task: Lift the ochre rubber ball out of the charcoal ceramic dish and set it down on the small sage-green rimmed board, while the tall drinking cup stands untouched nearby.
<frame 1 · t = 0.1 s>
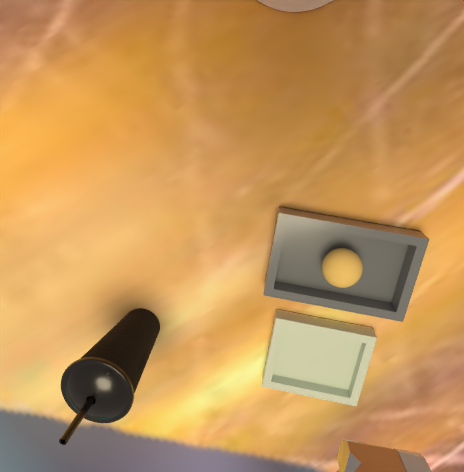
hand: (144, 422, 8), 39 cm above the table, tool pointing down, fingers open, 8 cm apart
drinking cup: (142, 323, 53), on the table
tray: (315, 352, 51), on the table
ball: (339, 260, 46), point 1 cm above the table, touching dish
dish: (338, 259, 47), on the table
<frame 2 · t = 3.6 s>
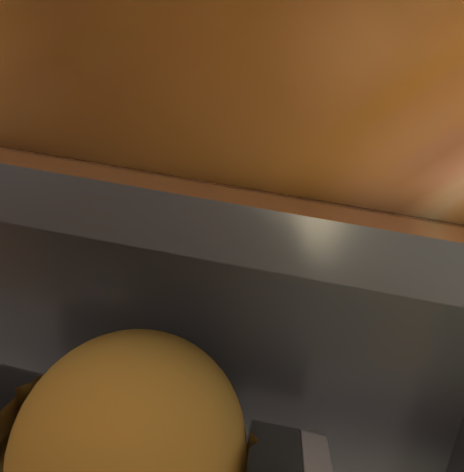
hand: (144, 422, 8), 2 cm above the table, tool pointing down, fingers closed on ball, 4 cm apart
ball: (165, 382, 10), point 1 cm above the table, touching dish, gripper
dish: (171, 369, 10), on the table
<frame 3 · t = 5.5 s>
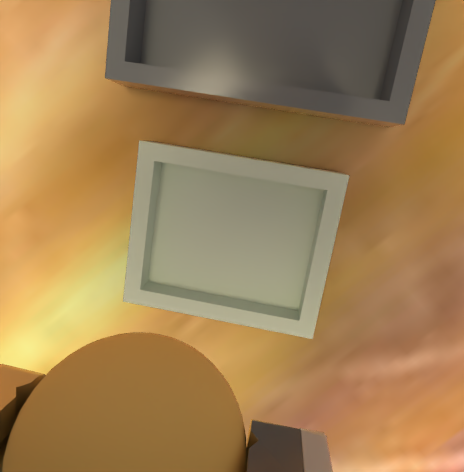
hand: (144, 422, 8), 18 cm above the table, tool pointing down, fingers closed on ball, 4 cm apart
tray: (232, 234, 26), on the table
ball: (164, 385, 10), point 16 cm above the table, touching gripper
dish: (268, 15, 23), on the table
when the fingers open (4 cm above the table, at t = 7.4 s): ball drops 1 cm, resting on tray.
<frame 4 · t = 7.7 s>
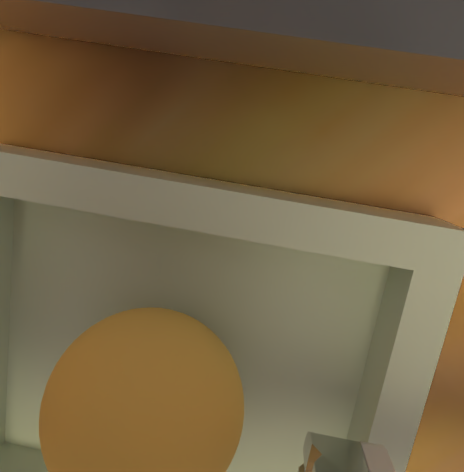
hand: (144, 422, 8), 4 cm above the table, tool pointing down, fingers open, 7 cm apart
tray: (184, 344, 12), on the table
ball: (178, 359, 11), point 1 cm above the table, touching tray
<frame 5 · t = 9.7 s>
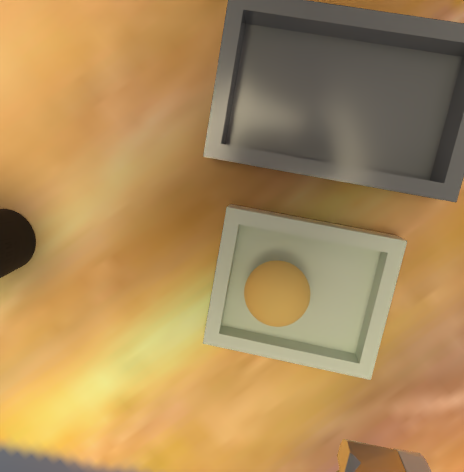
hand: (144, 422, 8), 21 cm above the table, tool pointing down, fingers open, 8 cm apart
drinking cup: (8, 238, 32), on the table
tray: (298, 285, 29), on the table
ball: (297, 290, 28), point 1 cm above the table, tilted 42°, touching tray
dish: (337, 104, 27), on the table
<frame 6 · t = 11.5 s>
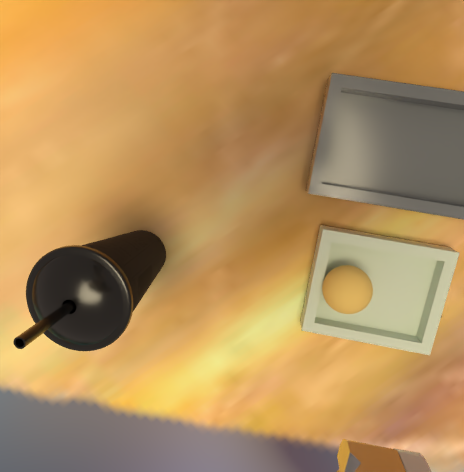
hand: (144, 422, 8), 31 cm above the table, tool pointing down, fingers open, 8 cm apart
drinking cup: (143, 252, 41), on the table
tray: (371, 285, 39), on the table
ball: (369, 292, 36), point 2 cm above the table, tilted 76°, touching tray
dish: (404, 150, 36), on the table
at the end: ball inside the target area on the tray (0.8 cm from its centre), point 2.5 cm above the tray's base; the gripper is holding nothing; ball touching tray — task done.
